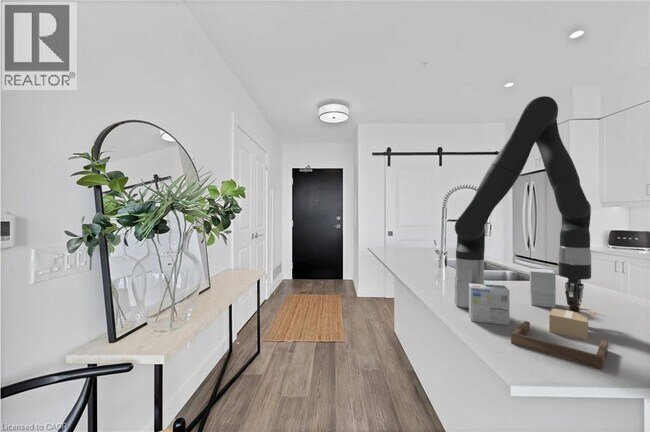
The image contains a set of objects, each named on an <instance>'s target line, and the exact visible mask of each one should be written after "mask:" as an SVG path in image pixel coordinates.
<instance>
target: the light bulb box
mask: <svg viewBox="0 0 650 432" xmlns="http://www.w3.org/2000/svg"><path fill="white" fill-rule="evenodd" d="M468 317H469V318H470V319H469V320H470V321H471V322H475V323H476V322H477V323H485V324H486V323H487V324H494V325H495V324H496V325H504V326H510V325H511V324H510V320H511V319H510V289H509V288H507V287H506V286H505V284H503V285H501V284H486V283H484V284H472V283H469V309H468Z"/></svg>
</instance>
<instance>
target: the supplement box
mask: <svg viewBox="0 0 650 432" xmlns="http://www.w3.org/2000/svg"><path fill="white" fill-rule="evenodd" d="M556 275H557V274H556V273H555V271H554V270H553V269H541V268H529V302H530V304H531V305H530V306H534V307H535V306H536V307H545V308H550V309H553V308H554V309H557V307H556V306H557V305H556V301H557V300H556V299H557V297H556V295H557V293H556V288H557V287H556V282H557V281H556V279H557V278H556Z"/></svg>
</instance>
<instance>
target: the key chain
mask: <svg viewBox="0 0 650 432" xmlns="http://www.w3.org/2000/svg"><path fill="white" fill-rule="evenodd" d="M556 306H557V307H558V308H561V309H562V308H563V309H564V310H567V311H569V305H563V304H557V305H556ZM557 307H556V308H557ZM580 311H587V312H589V314H593V315H597V316H600V317H605V318H606V317H607V316H606V315H603V314H600V313H597V312H595V311H591V309H590V308H585V307H584V308H583V307H580Z"/></svg>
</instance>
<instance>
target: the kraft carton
mask: <svg viewBox="0 0 650 432" xmlns="http://www.w3.org/2000/svg"><path fill="white" fill-rule="evenodd" d="M548 318H549V321H548V323H549V325H548V326H549V329H548V330H549V333H555V334H559V335H563V336H567V337H573V338H577V339H580V338H581V339H580V340H585V339H586V341H588V336H589V314H587V313H581V312H580V313H577V312H573V311H567V310H565V309H559V308H551V311H550V313H549V317H548Z"/></svg>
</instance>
